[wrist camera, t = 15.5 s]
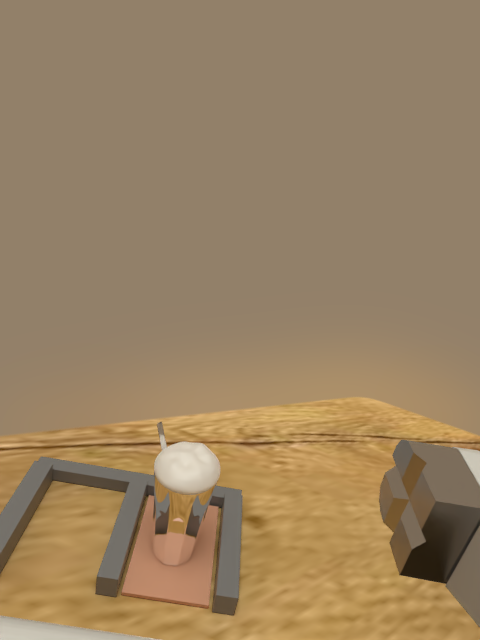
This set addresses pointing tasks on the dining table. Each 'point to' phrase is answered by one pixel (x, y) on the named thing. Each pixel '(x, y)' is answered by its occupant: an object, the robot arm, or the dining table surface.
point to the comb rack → (140, 537)
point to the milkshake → (181, 497)
